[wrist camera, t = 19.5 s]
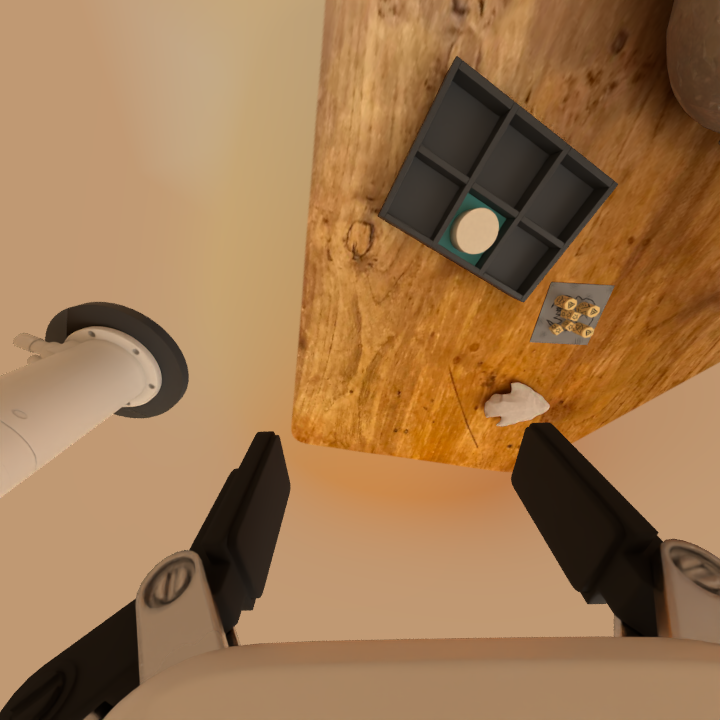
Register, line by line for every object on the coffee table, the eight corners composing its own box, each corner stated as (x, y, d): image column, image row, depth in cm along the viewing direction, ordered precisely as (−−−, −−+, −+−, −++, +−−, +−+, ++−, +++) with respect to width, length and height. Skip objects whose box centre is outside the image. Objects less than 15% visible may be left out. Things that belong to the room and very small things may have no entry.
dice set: (556, 294, 34) (567, 298, 32) (596, 296, 34) (608, 300, 32) (542, 332, 36) (551, 337, 34) (579, 334, 36) (590, 339, 34)
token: (441, 240, 30) (448, 241, 28) (465, 201, 29) (474, 198, 27) (472, 259, 31) (480, 261, 29) (497, 222, 30) (508, 221, 27)
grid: (377, 216, 30) (378, 215, 28) (448, 70, 25) (456, 55, 22) (513, 298, 34) (523, 302, 32) (599, 187, 29) (618, 184, 26)
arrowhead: (474, 418, 43) (536, 426, 43) (479, 428, 40) (545, 437, 40) (490, 374, 39) (557, 383, 39) (497, 383, 37) (568, 393, 37)
